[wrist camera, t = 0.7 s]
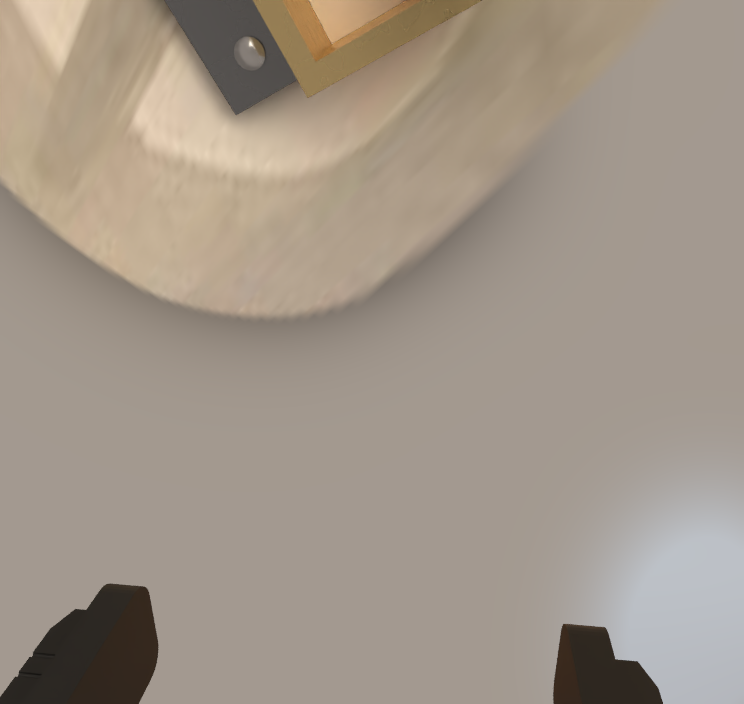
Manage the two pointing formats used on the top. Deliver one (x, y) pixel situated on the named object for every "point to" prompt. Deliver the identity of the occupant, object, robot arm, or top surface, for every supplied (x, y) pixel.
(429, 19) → the wooden frame on plate
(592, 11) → the top surface
